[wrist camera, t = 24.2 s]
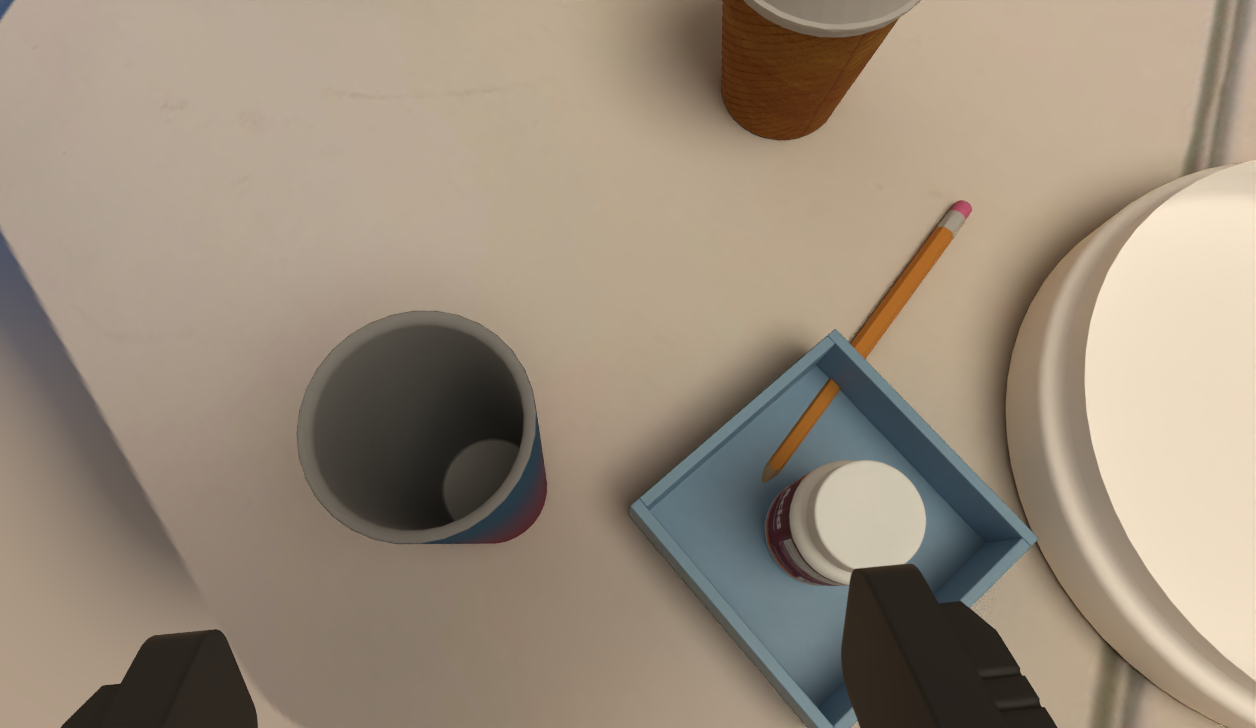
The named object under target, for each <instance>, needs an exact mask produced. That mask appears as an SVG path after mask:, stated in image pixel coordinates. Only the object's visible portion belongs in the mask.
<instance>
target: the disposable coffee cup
mask: <svg viewBox="0 0 1256 728" xmlns="http://www.w3.org/2000/svg"><path fill="white" fill-rule="evenodd" d="M920 1H921V0H723V5H722V7H723V16H722V24H723V25H722V80H721V92H722V96H723V100H724V103H725V105H726V107H727V109H728V111H729V113H730V114H731V115H732V117H733V118H734V119H735V120H736V121H737V122H738V123H739V124H740V125H741V126H743V127H744V128H746V129H747V130H749V131H751V132H752V133H755V134H757V135H760V136H762V137H766V138H772V139H777V140H788V139H795V138H799V137H802V136H805V135H808V134H810V133H812V132H814V131H815V130H817V129H818V128H820V127H821V126H822V125H823V124H824V123H825V122H826V121H827V120H828V118H829V117H830V116H831V114H832V112H833V111H834V109H835V108H836V107H837V105H838V104H839V102H840V101H841V99H842V98H843V97H844V95H845V94H846V92H847V91H848V89H849V88H850V87H851V85H852V84H853V83H854V81H855V80H856V79H857V77H858V76H859V74H860V73H861V71H862V70H863V69H864V67H865V66H866V64H867V63H868V61H869V60H870V59H871V57H872V56H873V54H874V53H875V52H876V50H877V49H878V47H879V46H880V44H881V43H882V42H883V40H884V39H885V37H886V36H887V35H888V33H889V32H890V30H891V29H892V28H893V26H894V25H895V23H896V22H897V20H898V19H899V18H900V17H901V16H903V15H904V14H906V13H907V12H908V11H909V10H910V9H912V8H913V7H914V6H915V5H917V4H918V3H919V2H920Z"/></svg>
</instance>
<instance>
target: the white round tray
mask: <svg viewBox="0 0 1256 728" xmlns="http://www.w3.org/2000/svg"><path fill="white" fill-rule="evenodd" d="M1006 430H1007V441H1008V448H1009V454H1010V461H1011V467H1012V471H1013V475H1014V479H1015V483H1016V487H1017V491H1018V495H1019V498H1020V500H1021V503H1022V506H1023V509H1024V512H1025V514H1026V517H1027V520H1028V523H1029V525H1030V528H1031V530H1032V532H1033V533H1034V534H1035V535H1036V536H1037V537H1038V540H1037V542H1038V545H1039V547H1040V549H1041V551H1042V553H1043V555H1044V557H1045V559H1046V560H1047V562H1048V564H1049V565H1050V567H1051V569H1052V570H1053V572H1054V574H1055V576H1056V577H1057V579H1058V581H1059V582H1060V584H1061V585H1062V587H1063V588H1064V590H1065V591H1066V592H1067V594H1068V595H1069V597H1070V598H1071V599H1072V601H1073V602H1074V604H1075V605H1076V606H1077V608H1078V609H1079V611H1080V612H1081V613H1082V614H1083V615H1084V617H1085V618H1086V619H1087V620H1088V621H1089V622H1090V624H1091V625H1092V626H1093V627H1094V628H1095V629H1096V631H1097V632H1098V633H1099V634H1100V635H1101V636H1102V638H1103V639H1104V640H1105V641H1106V642H1107V643H1108V644H1110V645H1111V646H1112V647H1113V648H1114V649H1115V650H1116V651H1117V652H1118V653H1119V654H1120V655H1121V656H1122V657H1123V658H1124V659H1125V660H1126V661H1127V662H1128V663H1129V664H1130V665H1132V666H1133V667H1134V668H1135V669H1137V670H1138V671H1139V672H1140V673H1141V674H1143V675H1144V676H1145V677H1146V678H1148V679H1149V680H1150V681H1151V682H1153V683H1154V684H1155V685H1156V686H1158V687H1159V688H1161V689H1162V690H1164V691H1165V692H1167V693H1168V694H1170V695H1171V696H1173V697H1174V698H1176V699H1177V700H1179V701H1180V702H1182V703H1183V704H1184V705H1186V706H1188V707H1190V708H1192V709H1193V710H1195V711H1197V712H1199V713H1201V714H1203V715H1204V716H1206V717H1208V718H1210V719H1212V720H1214V721H1215V722H1217V723H1219V724H1221V725H1224V726H1226V727H1228V728H1256V160H1253V161H1248V162H1243V163H1234V164H1228V165H1224V166H1219V167H1214V168H1209V169H1205V170H1202V171H1199V172H1196V173H1193V174H1189V175H1186V176H1183V177H1180V178H1178V179H1176V180H1173V181H1171V182H1169V183H1167V184H1165V185H1162V186H1160V187H1158V188H1156V189H1153V190H1152V191H1150V192H1148V193H1147V194H1145V195H1143V196H1142V197H1140V198H1138V199H1137V200H1135V201H1133V202H1132V203H1130V204H1129V205H1127V206H1126V207H1125V208H1123V209H1122V210H1121V211H1119V212H1118V213H1117V214H1116V215H1114V216H1113V217H1112V218H1110V219H1109V220H1108V221H1106V222H1105V223H1104V224H1102V225H1101V226H1100V227H1098V228H1097V229H1096V230H1094V231H1093V232H1092V233H1091V234H1089V235H1088V236H1087V237H1085V238H1084V239H1083V240H1082V241H1080V242H1079V243H1078V244H1077V245H1076V246H1075V247H1074V248H1073V249H1072V250H1071V251H1070V252H1069V253H1068V254H1067V255H1066V256H1065V257H1064V258H1063V259H1062V260H1061V261H1060V262H1059V263H1058V264H1057V266H1056V267H1055V268H1054V269H1053V271H1052V272H1051V273H1050V275H1049V276H1048V277H1047V278H1046V280H1045V281H1044V282H1043V284H1042V286H1041V287H1040V289H1039V291H1038V292H1037V294H1036V296H1035V297H1034V299H1033V301H1032V302H1031V304H1030V306H1029V308H1028V311H1027V313H1026V315H1025V317H1024V320H1023V322H1022V324H1021V326H1020V329H1019V332H1018V336H1017V339H1016V342H1015V346H1014V349H1013V352H1012V357H1011V363H1010V368H1009V373H1008V379H1007V393H1006Z"/></svg>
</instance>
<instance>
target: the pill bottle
mask: <svg viewBox="0 0 1256 728" xmlns="http://www.w3.org/2000/svg"><path fill="white" fill-rule="evenodd" d="M925 527H926V515H925V508H924V505H923V502H922V499H921V497H920V495H919V493H918V491H917V489H916V488H915V486H914V485H913V484H912V482H911V481H910V480H909V479H908V478H907V477H906V476H905V475H904V474H903V473H901V472H900V471H898V470H897V469H895V468H893V467H891V466H889V465H887V464H885V463H882V462H878V461H872V460H859V461H853V460H841V461H835V462H831V463H827V464H825V465H822V466H820V467H818V468H816V469H815V470H813V471H811V472H810V473H808V474H807V475H805V476H803V477H801V478H800V479H798V480H797V481H795V482H793V483H792V484H791V485H789V486H787V487H786V488H785V489H783V490H782V491H781V492H780V493H779V494H778V495H777V496H776V497H775V499H774V500H773V502H772V504H771V505H770V507H769V510H768V512H767V515H766V520H765V538H766V543H767V546H768V549H769V551H770V553H771V555H772V557H773V559H774V560H775V562H776V563H777V565H778V566H779V567H780V568H781V569H782V570H783V571H784V572H785V573H786V574H788V575H789V576H790V577H792V578H794V579H796V580H798V581H800V582H803V583H805V584H809V585H816V586H849V583H850V577H851V574H852V572H853V570H854V569H858V568H868V567H878V566H888V565H898V564H905V563H907V562H908V561H909V560H910V559H911V558H912V557H913V556H914V554H915V553H916V552H917V550H918V549H919V547H920V545H921V543H922V540H923V537H924V533H925Z"/></svg>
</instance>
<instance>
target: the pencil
mask: <svg viewBox="0 0 1256 728" xmlns="http://www.w3.org/2000/svg"><path fill="white" fill-rule="evenodd" d="M971 211H972V207H971V205H970V204H969V203H968V202H966V201H963V200H960V201H957V202H956V203H955V205H954V206H953V207H952V209H951V210H950V211H949V212H948V213H947V214H946V216H945V217H944V219H943V220H942V221H941V222H940V223H939V225H938V226H937V227H936V229H935V230H934V232H933V233H932V234H931V236H930V237H929V238H928V240H927V241H926V242H925V244H924V245H923V247H922V248H921V249H920V251H919V252H918V253H917V255H916V256H915V257H914V259H913V260H912V261H911V263H910V264H909V266H908V267H907V268H906V270H905V271H904V272H903V274H902V275H901V276H900V278H899V279H898V280H897V282H896V283H895V285H894V286H893V287H892V289H891V290H890V291H889V293H888V294H887V295H886V297H885V298H884V299H883V301H882V302H881V304H880V305H879V306H878V308H877V309H876V310H875V312H874V313H873V314H872V316H871V317H870V318H869V320H868V321H867V323H866V324H865V325H864V327H863V328H862V329H861V331H860V332H859V333H858V335H857V336H856V337H855V339H854V340H853V342H852V343H851V345H852V346H853V347H854V348H855V349H856V351H857V352H858V353H859V354H860V355H861V356H862V357H863V358H864V359H866V357H867V356H868V355H869V353H870V352H871V350H872V349H873V348H874V346H875V345H876V344H877V342H878V341H879V339H880V338H881V337H882V335H883V334H884V333H885V331H886V330H887V328H888V327H889V326H890V324H891V323H892V322H893V320H894V319H895V317H896V316H897V315H898V313H899V312H900V311H901V309H902V308H903V306H904V305H905V304H906V302H907V301H908V300H909V298H910V297H911V295H912V294H913V293H914V291H915V290H916V289H917V287H918V286H919V284H920V283H921V282H922V280H923V279H924V278H925V276H926V275H927V273H928V272H929V271H930V269H931V268H932V267H933V265H934V264H935V262H936V261H937V260H938V258H939V257H940V256H941V254H942V253H943V251H944V250H945V249H946V247H947V246H948V245H949V243H950V242H951V240H952V239H953V238H954V237H955V235H956V234H957V232H958V230H959V229H960V227H962V225H963V224H964V222H965V220H966V218H967V217H968V216H969V214H970V213H971ZM839 391H840V388H839V386H838V385H837V384H836V383H835V382H834V381H833V380H832V379H830V378H829V379H828V380H827V382H826V383H825V384H824V386H823V387H822V388H821V390H820V391H819V392H818V394H817V395H816V397H815V398H814V399H813V401H812V402H811V403H810V405H809V406H808V407H807V409H806V410H805V412H804V413H803V414H802V416H801V417H800V418H799V420H798V421H797V423H796V424H795V425H794V427H793V428H792V429H791V431H790V432H789V433H788V435H787V436H786V438H785V439H784V440H783V442H782V443H781V444H780V446H779V447H778V448H777V450H776V451H775V453H774V454H773V455H772V457H771V458H770V459H769V461H768V462H767V464H766V465H765V468H764V471H763V475H762V482H763V483H765V482H767V481H769V480H771V479H772V478H774V477H775V476H777V475H778V474H779V473H780V471H781V470H782V469H783V467H784V466H785V464H786V463H787V462H788V460H789V459H790V458H791V456H792V455H793V454H794V452H795V451H796V449H797V448H798V447H799V445H800V444H801V443H802V441H803V440H804V439H805V437H806V436H807V434H808V433H809V432H810V430H811V429H812V428H813V426H814V425H815V423H816V422H817V421H818V419H819V418H820V417H821V415H822V414H823V413H824V411H825V410H826V408H827V407H828V406H829V404H830V403H831V402H832V400H833V399H834V397H835V396H836V395H837V393H838V392H839Z"/></svg>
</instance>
